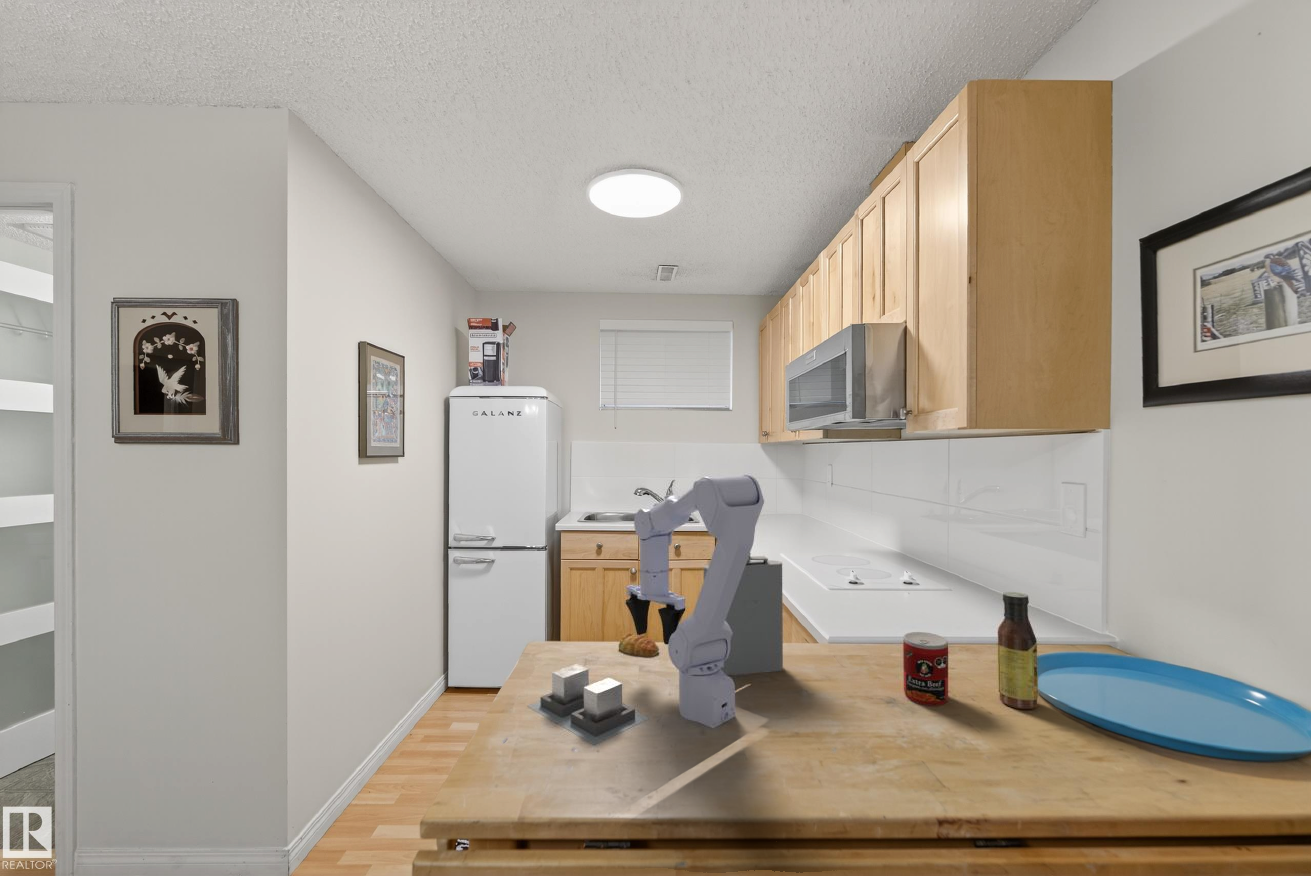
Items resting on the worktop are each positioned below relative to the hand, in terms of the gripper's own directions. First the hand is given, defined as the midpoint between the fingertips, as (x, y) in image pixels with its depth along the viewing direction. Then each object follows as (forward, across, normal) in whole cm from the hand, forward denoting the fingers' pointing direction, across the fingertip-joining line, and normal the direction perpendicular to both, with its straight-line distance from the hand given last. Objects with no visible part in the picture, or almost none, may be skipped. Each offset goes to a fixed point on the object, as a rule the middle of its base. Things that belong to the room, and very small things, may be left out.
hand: (655, 638), depth 117 cm
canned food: (+10, +40, +32) cm, 52 cm away
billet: (+8, +6, -18) cm, 21 cm away
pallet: (+9, +1, -18) cm, 20 cm away
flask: (+10, +8, +18) cm, 22 cm away
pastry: (+10, -16, +10) cm, 22 cm away
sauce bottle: (+10, +53, +41) cm, 68 cm away
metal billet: (+8, -4, -18) cm, 20 cm away
